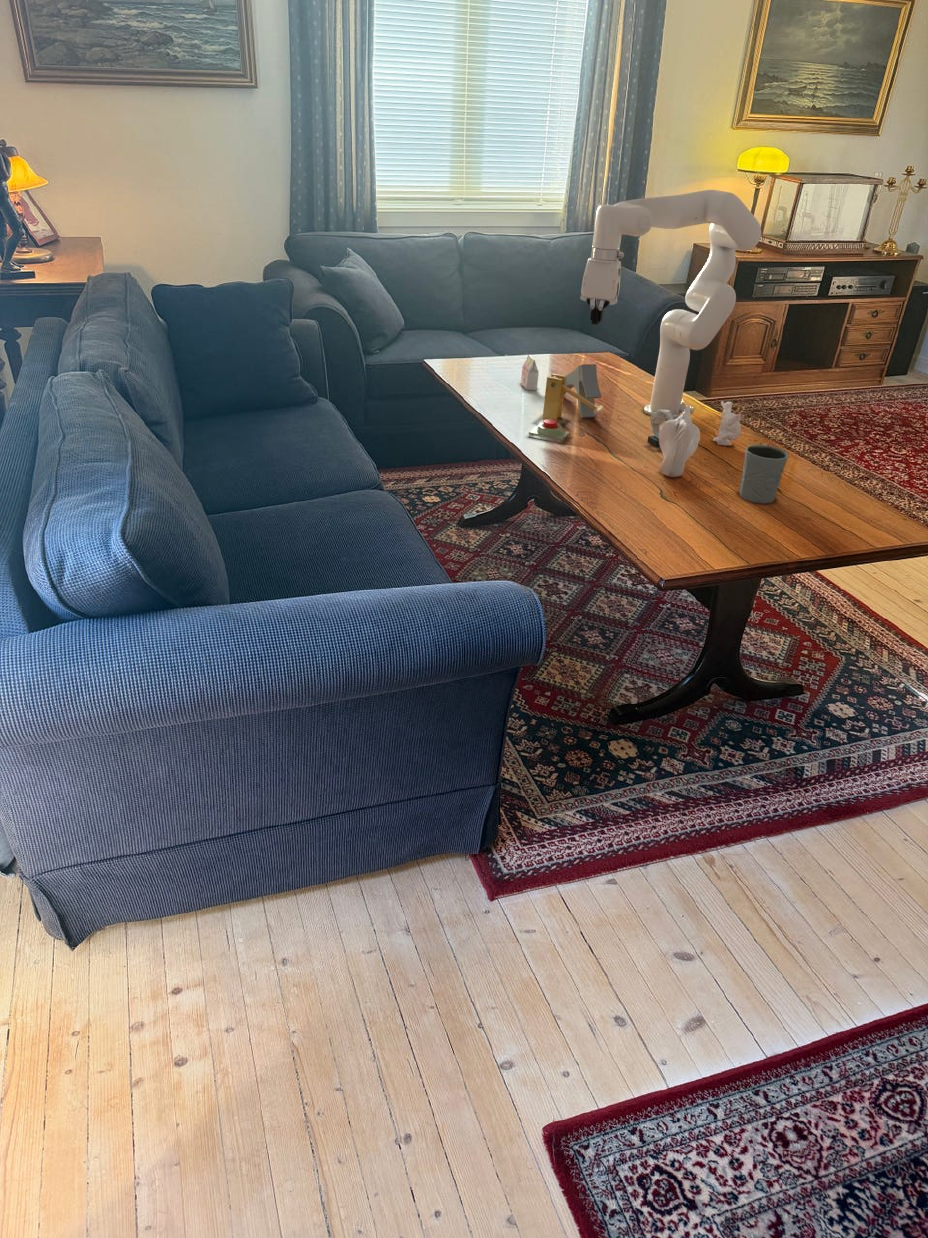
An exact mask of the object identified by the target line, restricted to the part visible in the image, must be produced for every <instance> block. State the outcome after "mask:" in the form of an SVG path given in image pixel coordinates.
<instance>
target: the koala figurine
mask: <svg viewBox="0 0 928 1238" xmlns="http://www.w3.org/2000/svg"><path fill="white" fill-rule="evenodd" d="M719 403H720V406H721V407H722V408H723V410H722V412H721V420H720V426H719V428H718V434H717V437H714V438H713V439H712V442H715V443H716V444H717V446H732V445H733V443H732V442H733V441H736V440H738V439H739V438H740V435H741V434H742V427H741V421H742V415H741V414H739V413H738V414H736V413H735V412H732V407H733V402H732V401H726V402H724V400H721V401H720V402H719Z"/></svg>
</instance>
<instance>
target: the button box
mask: <svg viewBox="0 0 928 1238" xmlns="http://www.w3.org/2000/svg"><path fill="white" fill-rule="evenodd" d="M570 433H571V432H570V431H567V430H563V426H562V425H561V424H560V423H557V428H555V429H549V428H545V427H543V422H539V423H538V424H537V425H536V426H535V427H533V428H532V429H531V430H530V431H528V434H530V435H536V436H540V437H545V438H550V439H555V440H559V441H563V440H564V439H565V438H566V437H567V436H568V435H569V434H570ZM528 439H531V440H532V439H533V440H538V441H543V442H549V443H553V444H557V445H562V444H563V443H562V442H559V441H554V440H549V439H543V438H539V437H533V436H528Z"/></svg>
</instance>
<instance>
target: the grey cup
mask: <svg viewBox="0 0 928 1238" xmlns="http://www.w3.org/2000/svg"><path fill="white" fill-rule="evenodd" d="M744 453H745V454H744V461H743V470H742V475H741V482H740V485H739V497H740V498H742V499H743V500H745V501H747V502H750V503H755V504H762V505H763V504H764V505H765V504H766V505H767V504H770V503H773V502H774V501H775V498H776V495H777V492H778V488H779V485H780V484H781V480H782V474H783V473H784V469H785V467H786V464H787V461H788V458H789V453H788V452H787V451H785V450H783V449H782V448H779V447H776V446H771V445H767V444H766V445H765V444H753V445H749V446H747V447H746V448H745V452H744Z"/></svg>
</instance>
